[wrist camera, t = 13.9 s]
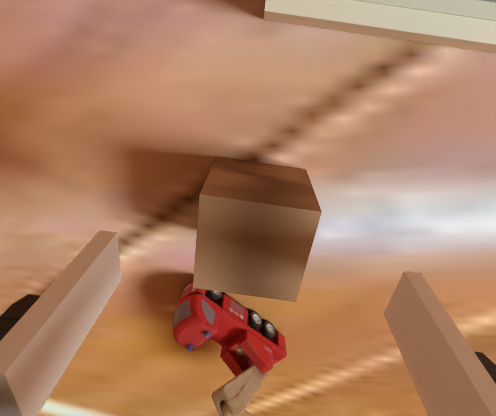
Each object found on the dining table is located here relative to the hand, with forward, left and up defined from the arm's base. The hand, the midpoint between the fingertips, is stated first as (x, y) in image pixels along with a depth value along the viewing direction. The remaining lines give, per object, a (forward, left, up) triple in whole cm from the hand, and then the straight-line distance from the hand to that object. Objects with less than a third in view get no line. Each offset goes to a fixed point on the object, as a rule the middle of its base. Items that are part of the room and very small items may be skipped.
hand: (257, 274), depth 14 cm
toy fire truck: (+1, -12, -8) cm, 15 cm away
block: (0, 0, -8) cm, 8 cm away
